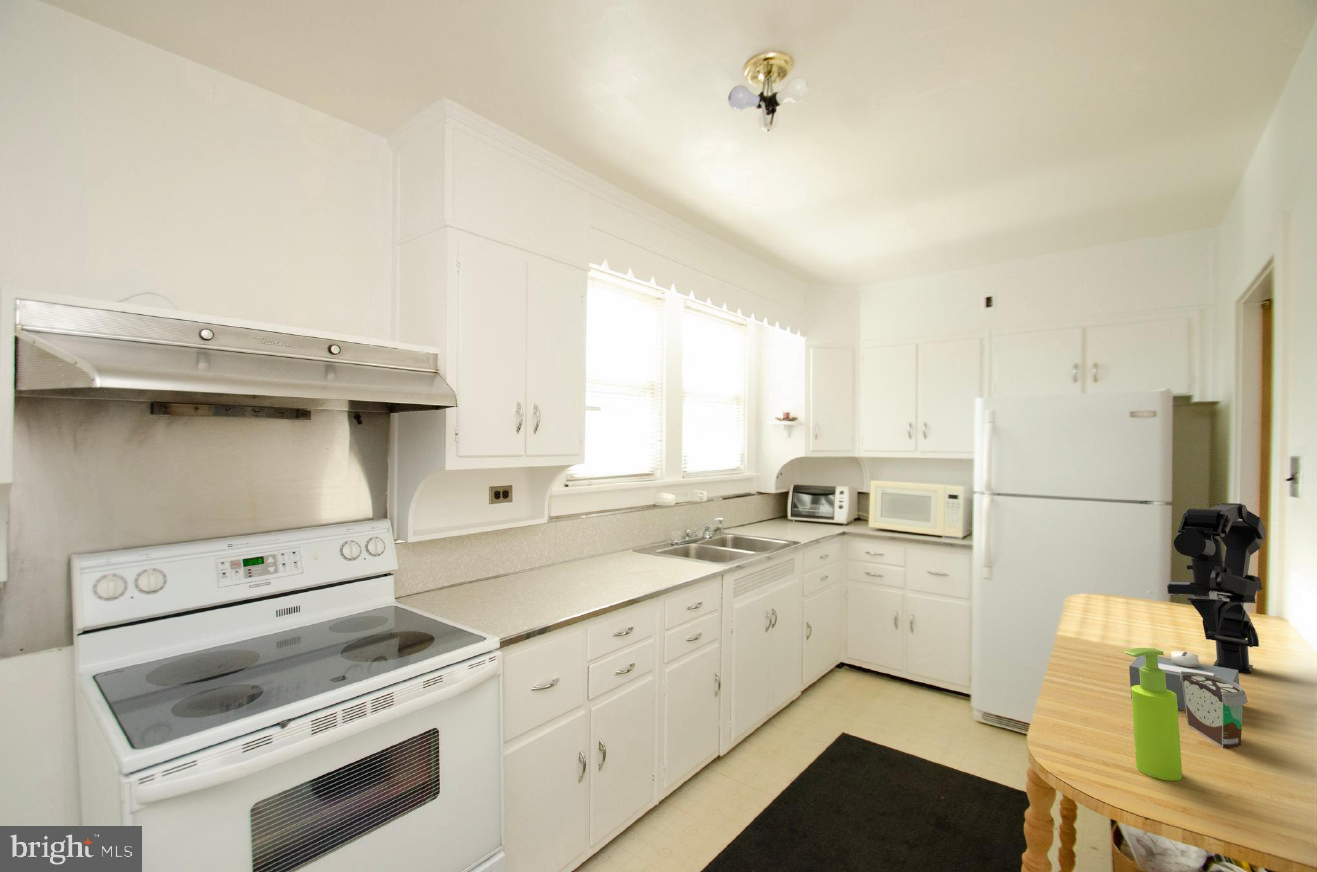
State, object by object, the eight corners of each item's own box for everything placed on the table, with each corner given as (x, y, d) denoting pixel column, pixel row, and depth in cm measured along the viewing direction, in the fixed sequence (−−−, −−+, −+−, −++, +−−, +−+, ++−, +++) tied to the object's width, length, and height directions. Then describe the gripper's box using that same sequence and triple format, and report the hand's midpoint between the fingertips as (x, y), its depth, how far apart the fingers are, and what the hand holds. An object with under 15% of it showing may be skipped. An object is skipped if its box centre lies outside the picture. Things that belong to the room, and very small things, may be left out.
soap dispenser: (1121, 764, 101) (1113, 645, 102) (1158, 761, 102) (1151, 643, 103) (1152, 782, 96) (1144, 655, 97) (1192, 779, 96) (1183, 653, 97)
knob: (1174, 677, 132) (1173, 649, 132) (1201, 682, 128) (1199, 653, 129) (1171, 682, 129) (1169, 653, 129) (1198, 687, 125) (1196, 658, 126)
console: (1143, 684, 136) (1141, 652, 137) (1240, 704, 124) (1238, 669, 125) (1131, 698, 128) (1129, 664, 129) (1234, 721, 116) (1231, 684, 117)
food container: (1270, 754, 103) (1266, 695, 104) (1229, 752, 105) (1224, 694, 105) (1219, 724, 116) (1215, 671, 116) (1182, 722, 117) (1179, 670, 117)
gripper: (1216, 556, 130) (1224, 631, 126) (1279, 566, 134) (1289, 639, 130) (1162, 557, 140) (1168, 626, 136) (1222, 566, 144) (1230, 634, 140)
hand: (1215, 631), depth 135 cm, fingers closed
